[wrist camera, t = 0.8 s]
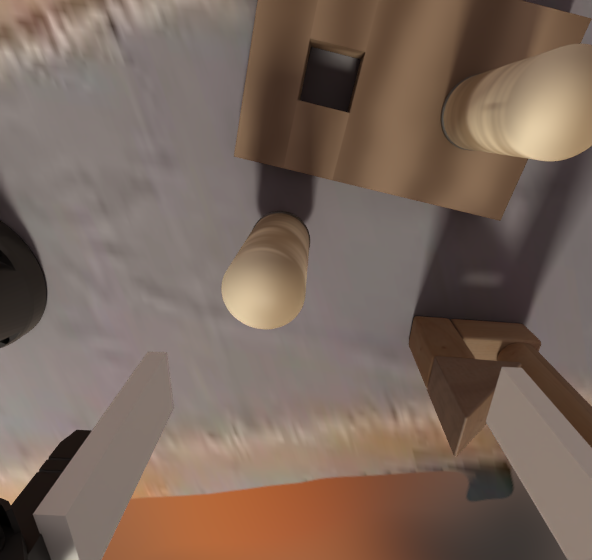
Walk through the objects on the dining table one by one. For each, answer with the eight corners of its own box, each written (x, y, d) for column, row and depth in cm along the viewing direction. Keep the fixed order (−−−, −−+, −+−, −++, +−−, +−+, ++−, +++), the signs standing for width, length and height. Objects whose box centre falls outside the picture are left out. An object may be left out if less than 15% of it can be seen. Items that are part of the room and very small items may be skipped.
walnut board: (241, 153, 32) (191, 171, 20) (273, -47, 27) (233, -199, 14) (484, 212, 33) (586, 265, 20) (563, 29, 27) (768, -52, 15)
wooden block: (413, 314, 37) (490, 467, 20) (522, 322, 37) (692, 484, 20) (407, 345, 38) (474, 512, 22) (512, 353, 38) (663, 529, 21)
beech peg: (251, 251, 35) (215, 319, 23) (261, 199, 33) (227, 242, 21) (303, 263, 36) (295, 337, 23) (316, 212, 34) (315, 263, 21)
